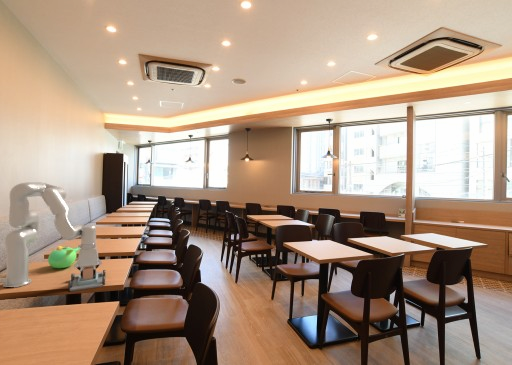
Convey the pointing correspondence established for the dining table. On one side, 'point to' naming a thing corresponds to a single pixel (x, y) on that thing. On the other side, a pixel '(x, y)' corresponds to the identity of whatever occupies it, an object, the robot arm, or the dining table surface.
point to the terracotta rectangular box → (88, 272)
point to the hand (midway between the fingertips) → (88, 276)
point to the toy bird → (62, 257)
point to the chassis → (86, 281)
